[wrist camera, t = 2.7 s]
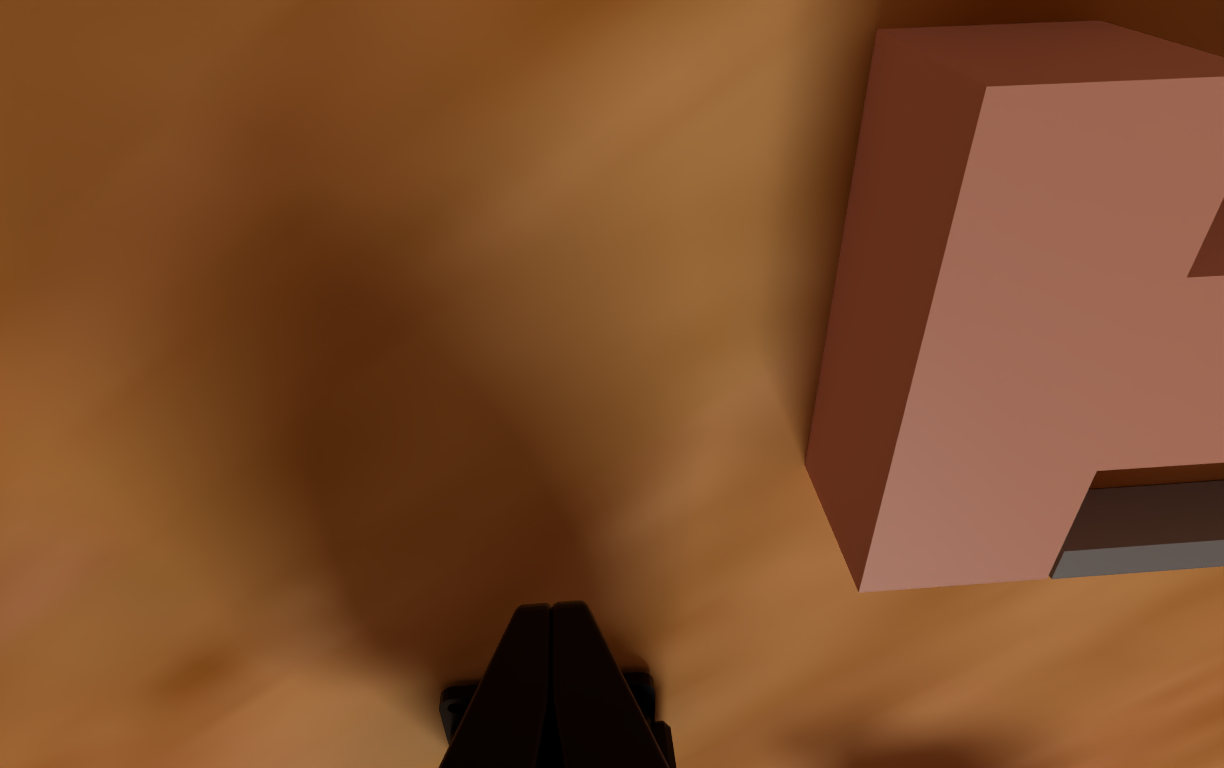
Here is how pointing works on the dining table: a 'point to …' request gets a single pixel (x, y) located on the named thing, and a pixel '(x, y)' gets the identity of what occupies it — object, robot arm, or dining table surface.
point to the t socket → (1145, 530)
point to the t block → (1018, 293)
